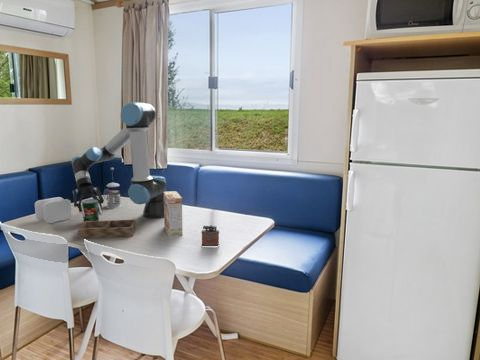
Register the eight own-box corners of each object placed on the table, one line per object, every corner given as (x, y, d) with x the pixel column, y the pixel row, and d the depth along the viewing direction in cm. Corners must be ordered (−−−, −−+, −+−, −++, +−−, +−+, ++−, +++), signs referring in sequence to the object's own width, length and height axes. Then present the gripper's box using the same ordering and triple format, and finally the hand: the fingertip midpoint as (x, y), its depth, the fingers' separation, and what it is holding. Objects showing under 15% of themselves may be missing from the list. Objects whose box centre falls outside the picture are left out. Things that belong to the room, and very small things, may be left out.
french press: (125, 205, 229) (123, 167, 224) (110, 209, 219) (108, 169, 214) (115, 203, 234) (113, 165, 229) (100, 207, 224) (97, 168, 219)
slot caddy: (135, 227, 188) (135, 219, 187) (132, 236, 175) (132, 227, 174) (85, 229, 183) (84, 221, 183) (78, 238, 171) (77, 229, 170)
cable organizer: (44, 225, 189) (42, 204, 187) (35, 221, 195) (33, 200, 193) (72, 219, 200) (70, 198, 198) (63, 215, 207) (61, 195, 204)
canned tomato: (85, 223, 189) (83, 203, 187) (81, 219, 195) (80, 200, 193) (100, 221, 194) (99, 201, 191) (97, 217, 200) (95, 198, 198)
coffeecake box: (163, 227, 190) (163, 191, 186) (177, 226, 192) (176, 190, 188) (168, 236, 176) (167, 198, 172) (183, 235, 178) (182, 197, 174)
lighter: (219, 245, 166) (219, 224, 164) (218, 247, 163) (219, 227, 161) (201, 245, 166) (201, 224, 164) (201, 247, 163) (201, 226, 161)
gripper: (101, 182, 209) (111, 215, 199) (62, 186, 198) (70, 222, 188) (103, 175, 204) (113, 208, 194) (63, 178, 192) (71, 214, 182)
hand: (92, 215), depth 191 cm, fingers closed on canned tomato, 8 cm apart
